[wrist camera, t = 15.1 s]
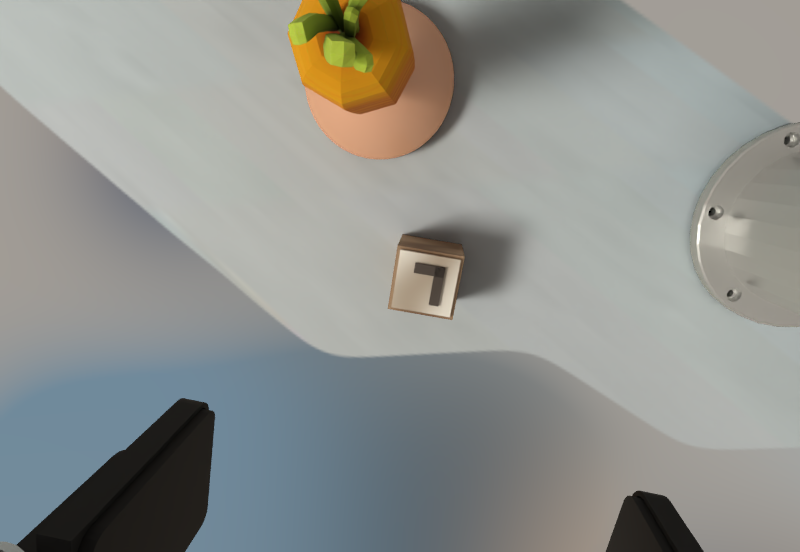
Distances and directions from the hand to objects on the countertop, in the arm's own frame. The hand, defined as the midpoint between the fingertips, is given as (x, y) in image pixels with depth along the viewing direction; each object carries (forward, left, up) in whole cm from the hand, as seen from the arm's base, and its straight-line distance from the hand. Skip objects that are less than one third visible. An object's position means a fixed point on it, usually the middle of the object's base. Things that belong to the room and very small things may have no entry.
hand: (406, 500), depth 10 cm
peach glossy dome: (+5, -11, -22) cm, 25 cm away
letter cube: (0, 0, -22) cm, 23 cm away
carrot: (+5, -11, -21) cm, 24 cm away
